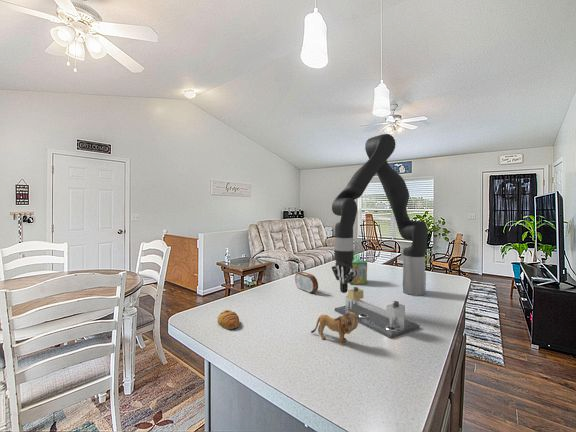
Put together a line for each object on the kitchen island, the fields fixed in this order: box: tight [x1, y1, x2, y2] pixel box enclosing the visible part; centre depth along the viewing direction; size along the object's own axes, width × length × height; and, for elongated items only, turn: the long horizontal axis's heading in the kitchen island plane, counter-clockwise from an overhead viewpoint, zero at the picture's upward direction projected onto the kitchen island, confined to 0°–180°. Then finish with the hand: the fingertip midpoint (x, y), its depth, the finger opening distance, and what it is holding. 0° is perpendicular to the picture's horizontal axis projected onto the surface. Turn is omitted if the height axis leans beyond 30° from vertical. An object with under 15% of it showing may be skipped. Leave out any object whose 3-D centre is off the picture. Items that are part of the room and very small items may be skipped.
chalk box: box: [348, 253, 368, 285], centre depth 147 cm, size 9×9×15 cm
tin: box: [294, 270, 319, 294], centre depth 132 cm, size 15×3×8 cm, turn 34°
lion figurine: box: [310, 312, 359, 346], centre depth 83 cm, size 15×5×9 cm, turn 64°
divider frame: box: [345, 295, 406, 331], centre depth 98 cm, size 5×25×8 cm, turn 30°
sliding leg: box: [347, 286, 364, 309], centre depth 105 cm, size 5×3×8 cm, turn 120°
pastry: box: [217, 309, 241, 330], centre depth 94 cm, size 9×7×4 cm
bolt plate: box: [334, 303, 421, 339], centre depth 99 cm, size 14×26×1 cm, turn 30°
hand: (343, 292), depth 110 cm, fingers closed
